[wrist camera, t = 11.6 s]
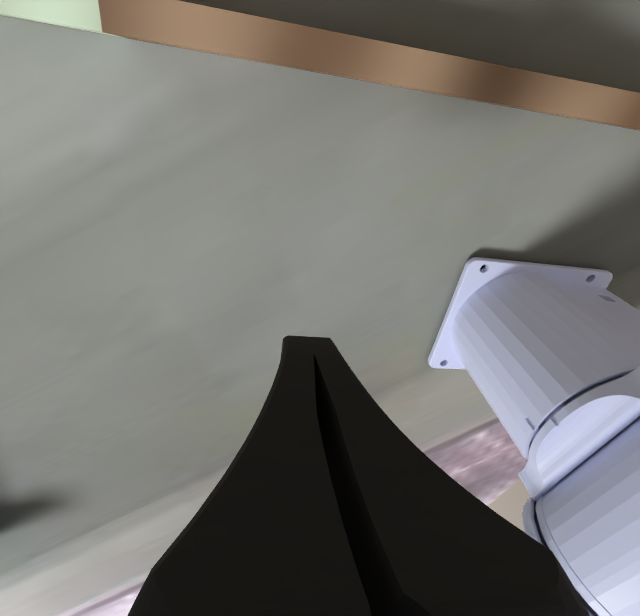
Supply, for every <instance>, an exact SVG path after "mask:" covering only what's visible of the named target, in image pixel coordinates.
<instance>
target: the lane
mask: <svg viewBox="0 0 640 616" xmlns="http://www.w3.org/2000/svg"><path fill="white" fill-rule="evenodd" d="M0 15H1V16H6V17H12V18H18V19H23V20H29V21H34V22H40V23H45V24H51V25H57V26H62V27H68V28H73V29H79V30H84V31H90V32H95V33H101V34H107V35H112V36H118V37H123V38H129V39H134V40H140V41H146V42H151V43H157V44H162V45H168V46H173V47H179V48H184V49H190V50H196V51H201V52H207V53H212V54H218V55H223V56H229V57H235V58H240V59H246V60H251V61H257V62H262V63H268V64H273V65H279V66H285V67H290V68H296V69H301V70H307V71H312V72H318V73H324V74H329V75H335V76H340V77H346V78H351V79H357V80H362V81H368V82H374V83H379V84H385V85H390V86H396V87H401V88H407V89H413V90H418V91H424V92H429V93H435V94H440V95H446V96H451V97H457V98H463V99H468V100H474V101H479V102H485V103H490V104H496V105H502V106H507V107H513V108H518V109H524V110H529V111H535V112H540V113H546V114H552V115H557V116H563V117H568V118H574V119H579V120H585V121H591V122H596V123H602V124H607V125H613V126H618V127H624V128H629V129H635V130H640V93H637V92H632V91H627V90H622V89H617V88H612V87H607V86H602V85H597V84H592V83H587V82H582V81H577V80H572V79H568V78H563V77H558V76H553V75H548V74H543V73H538V72H533V71H528V70H523V69H518V68H513V67H508V66H503V65H498V64H493V63H488V62H483V61H478V60H473V59H468V58H463V57H458V56H453V55H448V54H443V53H438V52H433V51H428V50H423V49H418V48H413V47H408V46H403V45H398V44H393V43H388V42H383V41H378V40H373V39H368V38H363V37H358V36H353V35H348V34H343V33H338V32H333V31H328V30H323V29H318V28H313V27H308V26H303V25H298V24H293V23H288V22H283V21H278V20H274V19H269V18H264V17H259V16H254V15H249V14H244V13H239V12H234V11H229V10H224V9H219V8H214V7H209V6H204V5H199V4H194V3H189V2H184V1H179V0H0Z"/></svg>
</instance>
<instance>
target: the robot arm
mask: <svg viewBox="0 0 640 616" xmlns="http://www.w3.org/2000/svg"><path fill="white" fill-rule="evenodd" d="M485 264H486V265H485ZM483 265H485V267H484V268H483V269H481V270H480V268H481V266H483ZM588 276H589V277H588ZM612 278H613V275H612V273H610V272H609V271H607V270H601V269H591V268H581V267H571V266H561V265H551V264H540V263H530V262H520V261H510V260H500V259H490V258H480V257H473V258H471V259H469V260H468V261H467V263H466V264H465V267H464V269H463V272H462V274H461V277H460V280H459V282H458V285H457V287H456V290H455V292H454V295H453V297H452V300H451V302H450V305H449V307H448V310H447V312H446V315H445V318H444V320H443V323H442V325H441V328H440V330H439V333H438V335H437V338H436V340H435V343H434V345H433V348H432V350H431V353H430V356H429V358H428V363H429V365H430V366H431V367H432V368H448V369H467V371H468V373H469V374H470V376H471V377H472V379H473V380H474V382H475V383H476V385H477V386H478V388H479V389H480V391H481V392H482V394H483V396H484V397H485V399H486V400H487V402H488V403H489V405H490V406H491V408H492V409H493V411H494V412H495V414H496V415H497V417H498V418H499V420H500V422H501V423H502V425H503V426H504V428H505V429H506V431H507V432H508V434H509V435H510V437H511V438H512V440H513V441H514V443H515V444H516V446H517V448H518V449H519V451H520V452H521V454H522V455H523V457H524V458H525V460H526V461H527V464H526V465H525V467H524V468H523V469H522V470H521V471H520V472H519V474H518V475H519V477H520V478H521V480H522V482H523V483H524V485H525V487H526V488H527V490H528V492H529V493H530V495H531V496H532V497H530V498H529V499H528V500H527V502H526V503H525V505H524V508H523V513H522V516H523V526H524V530H525V532H523V531H522V530H520V529H519V528H517V527H516V526H514V525H513V524H511V523H510V522H508V521H507V520H506V519H504V518H503V517H501V516H500V515H498V514H497V513H496V512H494V511H493V510H492V509H490V508H489V507H488V506H486V505H485V504H484V503H483V502H481V501H480V500H479V499H477V498H476V497H475V496H473V495H472V494H471V493H469V492H468V491H467V490H466V489H464V488H463V487H462V486H461V485H459V484H458V483H457V482H456V481H455V480H453V479H452V478H451V477H450V476H449V475H448V474H446V473H445V472H444V471H443V470H442V469H441V468H440V467H438V466H437V465H436V464H435V463H434V462H433V461H431V460H430V459H429V458H428V457H427V456H426V455H425V454H424V453H423V452H422V451H421V450H419V449H418V448H417V447H416V446H415V445H414V444H413V443H412V442H411V441H410V440H409V439H408V438H407V437H406V436H405V435H404V434H403V433H402V432H401V431H400V430H399V428H398V427H397V426H396V425H395V424H394V423H393V422H392V421H391V420H390V418H389V417H388V416H387V415H386V414H385V413H384V411H383V410H382V409H381V408H380V407H379V406H378V404H377V403H376V402H375V401H374V399H373V398H372V397H371V396H370V394H369V393H368V392H367V390H366V389H365V388H364V386H363V385H362V384H361V382H360V381H359V380H358V378H357V377H356V376H355V374H354V373H353V371H352V370H351V369H350V367H349V366H348V364H347V363H346V361H345V360H344V358H343V357H342V355H341V354H340V352H339V351H338V349H337V347H336V346H335V344H334V343H333V341H332V340H331V339H330V338H323V337H304V336H286V337H285V338H283V344H282V352H281V361H280V365H279V368H278V371H277V374H276V377H275V379H274V382H273V385H272V388H271V390H270V392H269V395H268V397H267V399H266V401H265V403H264V406H263V408H262V410H261V412H260V414H259V416H258V418H257V420H256V422H255V424H254V426H253V428H252V430H251V431H250V433H249V435H248V437H247V438H246V440H245V442H244V444H243V445H242V447H241V449H240V450H239V452H238V453H237V455H236V457H235V458H234V460H233V462H232V463H231V465H230V466H229V468H228V469H227V471H226V472H225V474H224V475H223V477H222V478H221V480H220V481H219V483H218V484H217V485H216V487H215V488H214V490H213V491H212V492H211V494H210V495H209V497H208V498H207V499H206V501H205V502H204V503H203V505H202V506H201V508H200V509H199V510H198V512H197V513H196V515H195V516H194V517H193V518H192V520H191V521H190V522H189V524H188V525H187V526H186V527H185V529H184V530H183V531H182V532H181V533H180V535H179V536H178V537H177V538H176V540H175V541H174V542H173V543H172V545H171V546H170V547H169V548H168V549H167V551H166V552H165V553H164V554H163V556H162V557H161V558H160V559H159V560H158V562H157V563H156V564H155V565H154V567H153V568H152V569H151V571H150V573H149V575H148V577H147V579H146V581H145V583H144V584H143V586H142V588H141V590H140V592H139V594H138V596H137V598H136V600H135V602H134V604H133V606H132V608H131V610H130V612H129V614H128V616H640V311H639V310H638V309H636V308H635V307H633V306H631V305H630V304H628V303H627V302H625V301H624V300H622V299H621V298H619V297H618V296H616V295H614V294H613V293H611V292H610V291H608V290H607V289H606V288H607V287H608V285H609V283H610V282H611V280H612ZM443 360H444V361H443ZM441 361H443V362H441Z"/></svg>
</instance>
